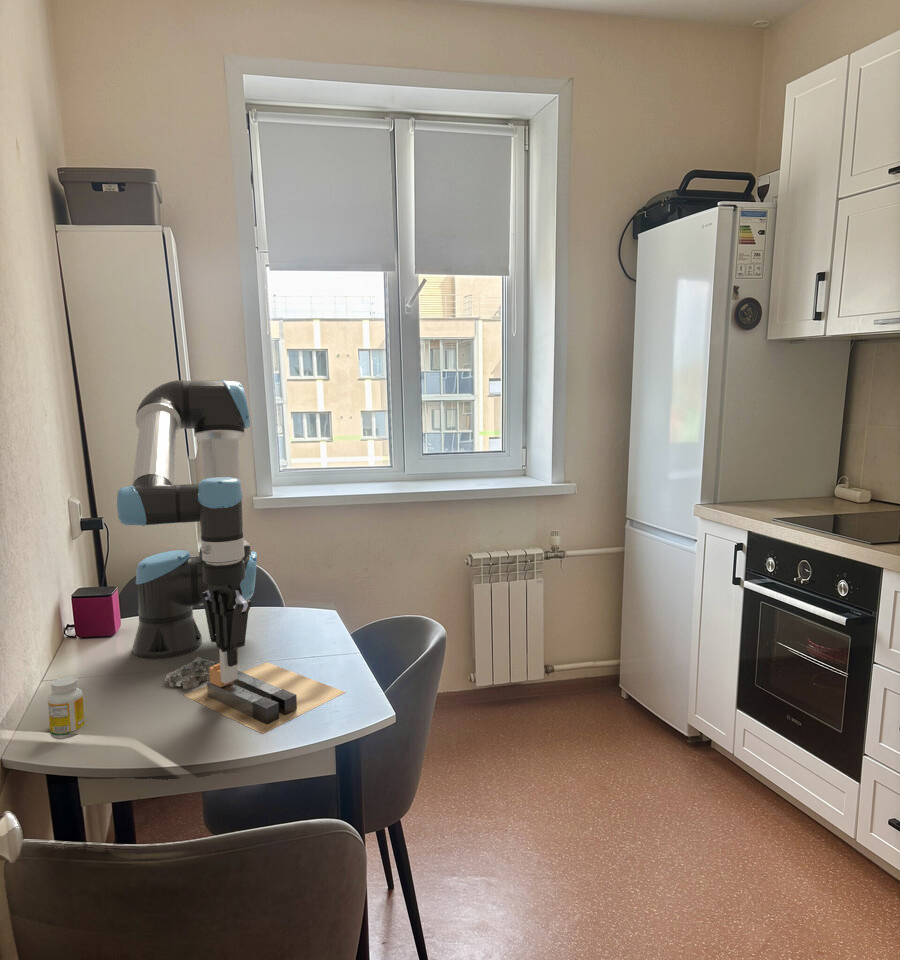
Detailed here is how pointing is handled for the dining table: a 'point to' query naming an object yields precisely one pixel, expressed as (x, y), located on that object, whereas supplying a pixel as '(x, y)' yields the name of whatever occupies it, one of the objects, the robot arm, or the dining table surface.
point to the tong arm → (268, 692)
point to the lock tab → (216, 676)
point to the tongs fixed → (245, 702)
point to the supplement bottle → (65, 708)
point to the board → (304, 688)
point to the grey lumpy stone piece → (188, 669)
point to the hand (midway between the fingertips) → (229, 680)
